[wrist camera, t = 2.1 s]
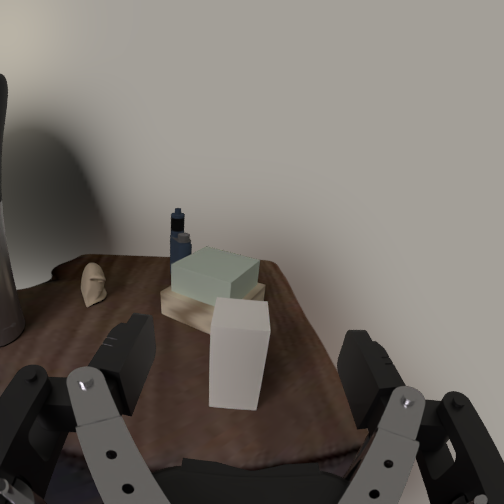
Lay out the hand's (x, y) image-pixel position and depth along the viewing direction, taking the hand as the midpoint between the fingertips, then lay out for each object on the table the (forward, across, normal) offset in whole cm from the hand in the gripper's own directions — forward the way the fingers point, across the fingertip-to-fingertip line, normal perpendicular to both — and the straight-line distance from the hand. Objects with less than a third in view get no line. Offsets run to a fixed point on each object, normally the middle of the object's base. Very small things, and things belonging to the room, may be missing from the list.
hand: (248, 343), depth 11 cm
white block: (+12, 0, +16) cm, 19 cm away
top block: (+28, +4, +12) cm, 30 cm away
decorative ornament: (+26, +23, +15) cm, 39 cm away
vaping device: (+38, +11, +15) cm, 42 cm away
